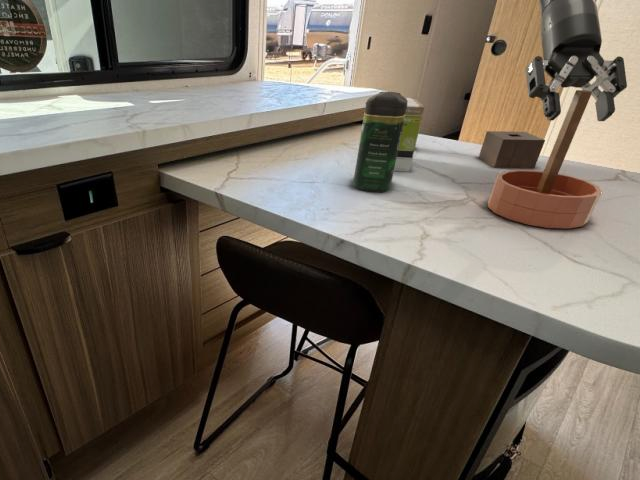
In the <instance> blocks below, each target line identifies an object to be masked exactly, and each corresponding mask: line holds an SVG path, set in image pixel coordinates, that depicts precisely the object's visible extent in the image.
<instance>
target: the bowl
mask: <svg viewBox="0 0 640 480" xmlns="http://www.w3.org/2000/svg"><path fill="white" fill-rule="evenodd" d="M543 172H544V170H534V169H533V170H532V169H514V170H513V169H512V170H506V171H502V172H500V173H497V175H496V178H495V180H494V184H493V186H492V190H491V192H490V194H489V197H488V200H487V208H488V209H489V210H490V211H492V212H493V213H494V214H496V215H498V216H500V217H502V218H505V219H507V220H509V221H513V222H516V223H521V224H524V225H528V226H534V227H540V228H546V229H567V230H569V229H574V228H575V229H576V228H580V227H584V226H585V225H586V224H587V223H589V221H590V219H591V216H592V214H593V212H594V211H595V208H596V206H597V204H598V202H599V200H600V198H601V196H602V193H603V190H602V189H601V187H600V185H597V184H595V183H593V182H591V181H588V180H586V179H583V178H579V177H576V176H573V175H569V174H563V173H558V175H557V177H556V180H555V182H554V185H553V187H552V189H551V192H550V194H545V193H539V192H536V189H537V187H538V184H539V182H540V179H541V177H542V174H543Z"/></svg>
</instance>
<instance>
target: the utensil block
mask: <svg viewBox="0 0 640 480" xmlns="http://www.w3.org/2000/svg"><path fill="white" fill-rule="evenodd" d="M545 142H546V140H545V139H543V138H541V137H539V136H536V135H534V134H532V133H529V132H527V131H507V130H506V131H502V130H501V131H500V130H497V131H495V130H493V131H492V130H486V132H485V136H484V138H483V142H482V145H481V149H480V151H479V154H478V159H479V160H481V161H483V163H485V164H488V165H489V166H490V167H492V168H494V169H531V170H532V169H533V170H534V169H535V168H536V165H537V162H538V160H539V158H540V155H541V152H542V149H543V147H544V145H545Z"/></svg>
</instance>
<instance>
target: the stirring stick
mask: <svg viewBox="0 0 640 480" xmlns="http://www.w3.org/2000/svg"><path fill="white" fill-rule="evenodd" d="M591 94H592V91H587V90H582V89H576V90H575V92H574V95H573V97H572V99H571V102H570V104H569V107H568V109H567V112H566V115H565V117H564V119H563V122H562V125H561V127H560V129H559V132H558V135H557V136H556V139H555V142H554V144H553V147H552V149H551V152H550V154H549V157H548V160H547V162H546V165H545V167H544V170H543V171H544V172H543V174H542V177H541V179H540V182H539V184H538V187H537V189H536V192H539V193H545V194H550V192H551V189H552V187H553V185H554V182H555V180H556V177H557V175H558V174H560V170H561V168H562V165H563V163H564V161H565V159H566V156H567V154H568V151H569V149H570V146H571V144H572V142H573V139H574V137H575V135H576V132H577V130H578V127H579V125H580V123H581V120H582V118H583V116H584V113H585V111H586V108H587V107H588V104H589V102H590V98H591V97H592V95H591Z"/></svg>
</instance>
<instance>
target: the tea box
mask: <svg viewBox="0 0 640 480" xmlns="http://www.w3.org/2000/svg"><path fill="white" fill-rule="evenodd" d="M405 98H406V99H407V109H406V115H405V120H404V126H403V131H402V136H401V140H400V145H399V150H398V154H397V158H396V163H395V167H394V172H410V171H411V167H412V163H413V162H412V161H413V157H414V154H415V149H416V145H417V141H418V136H419V132H420V128H421V124H422V120H423V115H424V111H425V106H424V104H422V103H421V102H420V101H418V100H417V99H416V98H412V97H405Z"/></svg>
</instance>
